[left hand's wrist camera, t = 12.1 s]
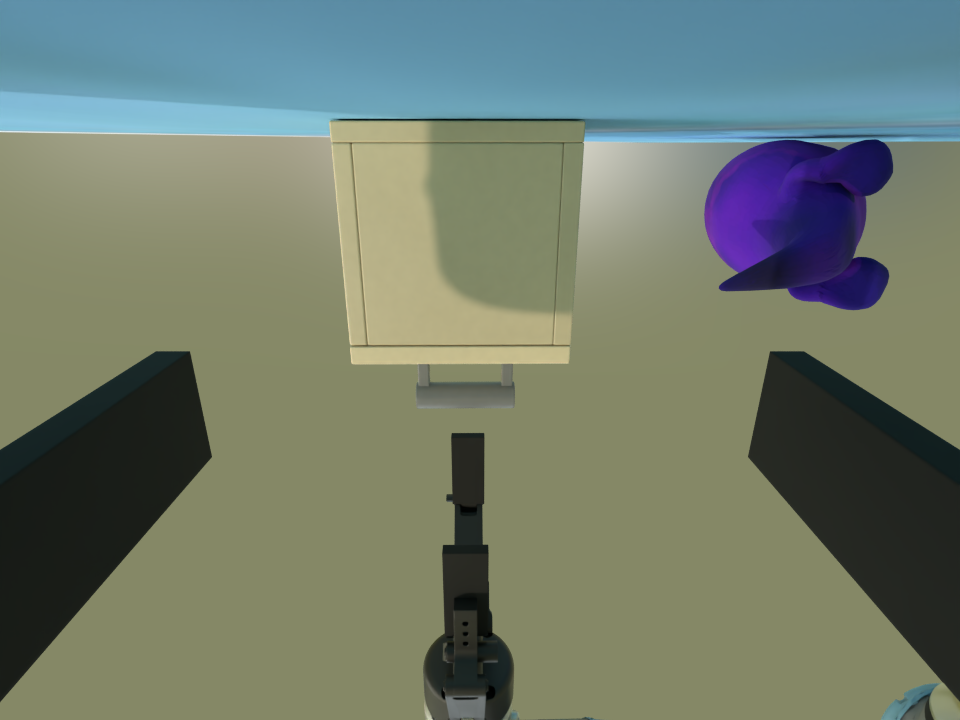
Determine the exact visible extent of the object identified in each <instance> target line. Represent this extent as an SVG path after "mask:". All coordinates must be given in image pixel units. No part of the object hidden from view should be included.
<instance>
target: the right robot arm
mask: <svg viewBox="0 0 960 720" xmlns="http://www.w3.org/2000/svg"><path fill="white" fill-rule="evenodd" d="M451 445H452V491H453V494H447V498H446V501H447V502H453V504H454V505H455V545H443V552H442V558H443V590H444V622H445V634H443V635H442V636H440V637H439V638H438V639H437V640H436V641H435V642H434V643H433V644H432V645H431V647H430V648H429V650H428V652H427V654H426V657H425V660H424V667H423V673H424V693H425V701H424V705H425V720H519V713H518V712H517V711H515V710H512V699H513V683H514V663H513V658H512V655H511V652H510V650H509V648H508V647H507V645H506V644H505V643H504V641H503V640H502V639H501V638H499V637H498V636H497V635H495V634H494V633H492V613H491V611H490V609H489V582H488V545H483V539H482V538H483V537H482V505H483V504H484V433H452V436H451ZM904 696H905V697H904V699H903V700H900V701H899V700H895V701H894V702H893V703H891V704H890V706H889V707H888V708H887V710H886V711H885V713H884V714H883V716H882V718H881V720H960V702H959V700H958V699H957V698H956V697H955V696H954V695H953V693H952V692H951V691H950V690H949V689H948V688H947V687H946V685H945V684H944V683H936V684H926V685H922V686H919V687H916V688H913V689H911V690H909V691H907V692H905V693H904ZM540 720H598V719H593V718H587V717H585V718H582V719H540Z"/></svg>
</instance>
